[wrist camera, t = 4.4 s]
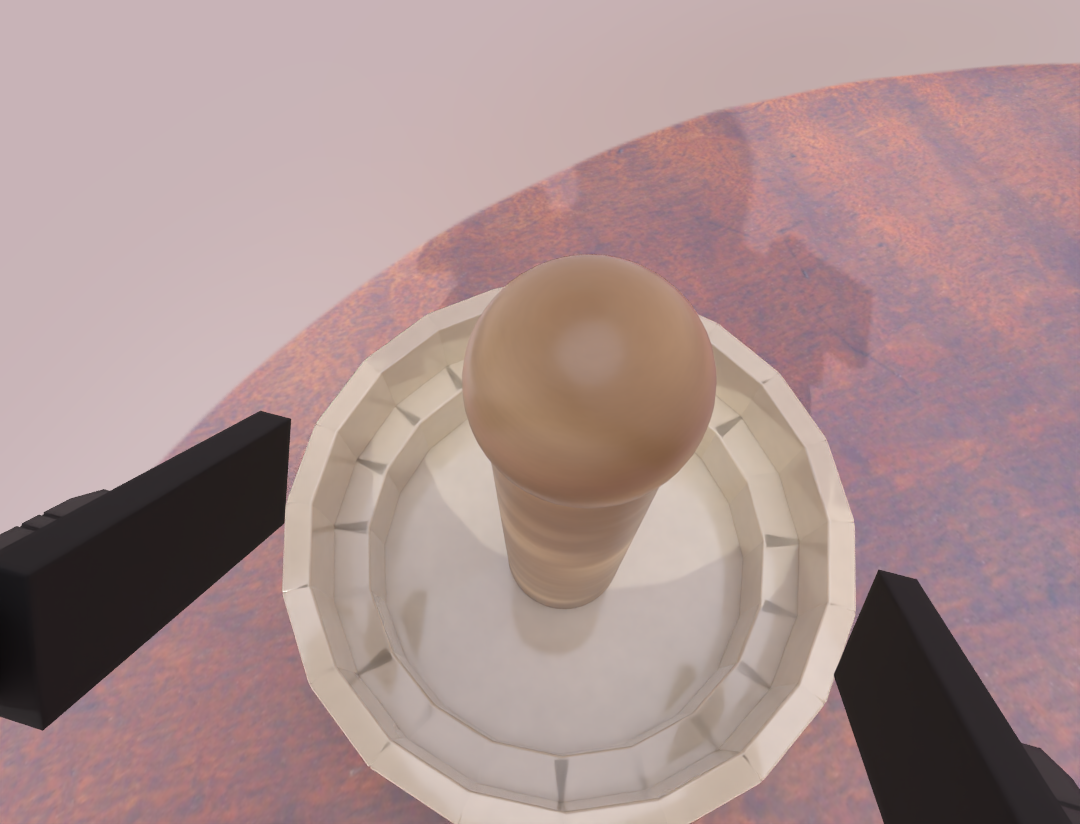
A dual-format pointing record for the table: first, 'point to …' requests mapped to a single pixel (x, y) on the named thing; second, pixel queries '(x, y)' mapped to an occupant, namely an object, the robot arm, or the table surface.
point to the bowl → (565, 634)
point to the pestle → (584, 413)
